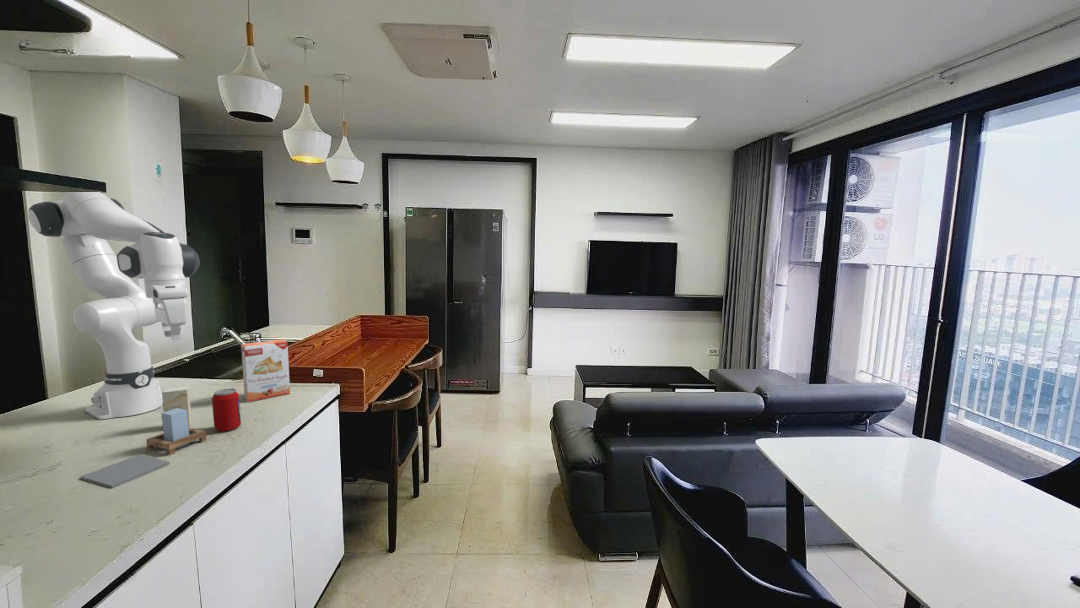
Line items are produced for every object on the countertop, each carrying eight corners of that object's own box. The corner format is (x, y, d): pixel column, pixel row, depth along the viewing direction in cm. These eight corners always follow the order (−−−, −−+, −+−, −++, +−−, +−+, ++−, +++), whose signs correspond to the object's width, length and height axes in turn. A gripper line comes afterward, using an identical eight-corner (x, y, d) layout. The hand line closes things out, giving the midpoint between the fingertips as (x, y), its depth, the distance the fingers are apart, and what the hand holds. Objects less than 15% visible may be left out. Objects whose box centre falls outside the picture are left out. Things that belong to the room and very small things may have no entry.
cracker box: (248, 402, 157) (243, 346, 155) (244, 398, 162) (240, 343, 159) (291, 394, 167) (287, 340, 164) (286, 390, 171) (283, 338, 169)
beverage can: (246, 424, 138) (243, 388, 137) (229, 433, 131) (226, 395, 130) (226, 423, 139) (223, 387, 137) (208, 432, 132) (205, 394, 131)
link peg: (164, 447, 122) (161, 413, 121) (180, 441, 126) (177, 408, 125) (174, 449, 121) (171, 415, 120) (190, 443, 125) (186, 410, 123)
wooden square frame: (147, 449, 121) (146, 439, 120) (184, 436, 129) (183, 426, 129) (170, 455, 118) (169, 444, 117) (206, 440, 126) (205, 431, 126)
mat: (80, 478, 105) (80, 476, 105) (139, 456, 117) (139, 454, 117) (111, 487, 101) (111, 485, 101) (169, 464, 113) (169, 461, 113)
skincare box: (164, 430, 133) (160, 392, 131) (167, 425, 137) (163, 388, 135) (190, 426, 136) (187, 389, 135) (192, 421, 140) (189, 385, 138)
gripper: (144, 289, 127) (151, 336, 128) (158, 292, 113) (165, 344, 115) (172, 287, 131) (178, 332, 133) (189, 290, 118) (195, 340, 120)
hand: (172, 338), depth 124 cm, fingers open, 8 cm apart
